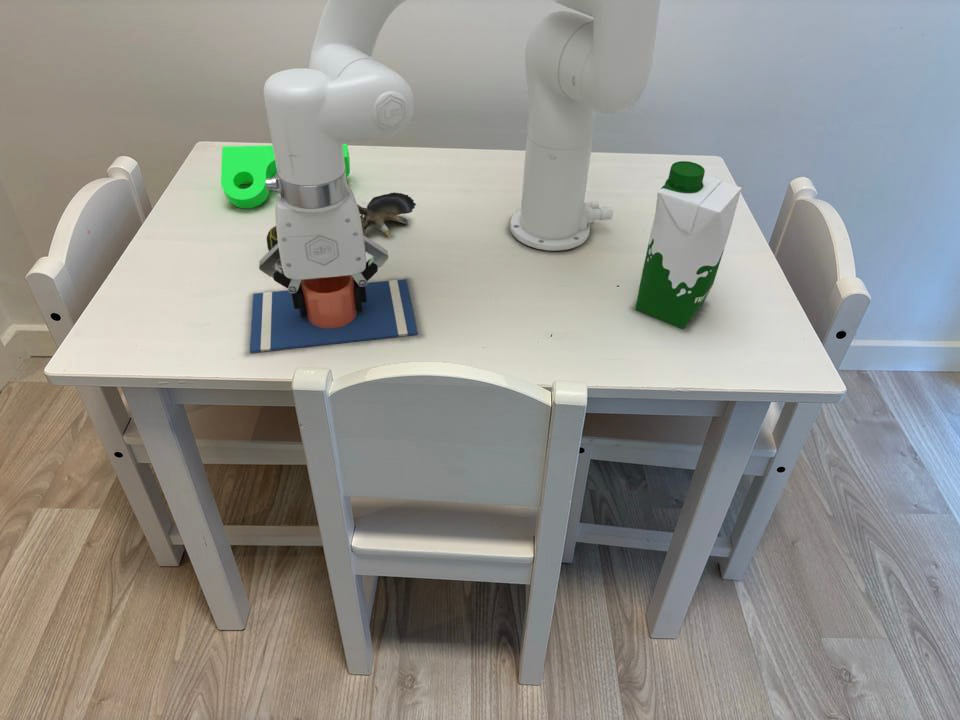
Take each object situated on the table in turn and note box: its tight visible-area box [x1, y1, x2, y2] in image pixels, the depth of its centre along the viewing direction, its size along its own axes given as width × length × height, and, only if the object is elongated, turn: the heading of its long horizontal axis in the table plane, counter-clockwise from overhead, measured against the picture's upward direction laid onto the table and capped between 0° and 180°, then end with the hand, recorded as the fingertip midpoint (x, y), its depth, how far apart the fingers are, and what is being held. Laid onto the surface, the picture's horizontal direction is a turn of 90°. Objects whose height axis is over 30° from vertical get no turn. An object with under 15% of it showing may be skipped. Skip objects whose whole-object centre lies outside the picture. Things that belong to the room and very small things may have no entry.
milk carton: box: [635, 160, 743, 330], centre depth 88 cm, size 9×9×20 cm
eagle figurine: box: [357, 191, 417, 238], centre depth 106 cm, size 8×7×9 cm
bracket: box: [220, 143, 351, 210], centre depth 114 cm, size 20×10×7 cm
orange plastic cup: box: [301, 275, 357, 329], centre depth 90 cm, size 7×7×6 cm
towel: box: [249, 278, 419, 354], centre depth 92 cm, size 21×12×1 cm, turn 102°
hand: (331, 307), depth 91 cm, fingers closed on orange plastic cup, 6 cm apart
